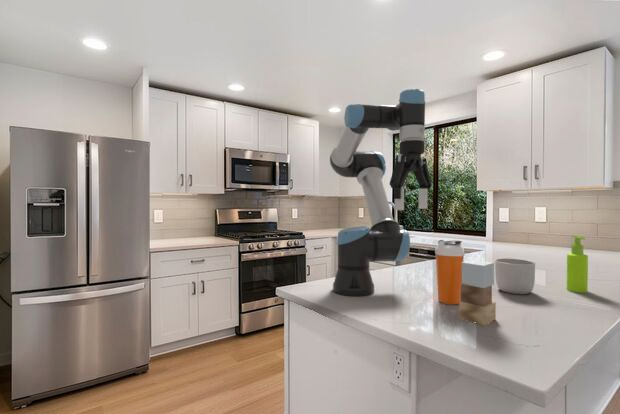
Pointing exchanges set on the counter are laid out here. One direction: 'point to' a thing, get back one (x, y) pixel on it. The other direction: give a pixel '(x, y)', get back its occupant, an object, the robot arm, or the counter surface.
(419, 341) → the counter surface
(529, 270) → the planter
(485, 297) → the walnut block
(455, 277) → the shaker bottle
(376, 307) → the counter surface
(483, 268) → the grey-blue cube
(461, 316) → the oak block
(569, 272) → the soap dispenser
